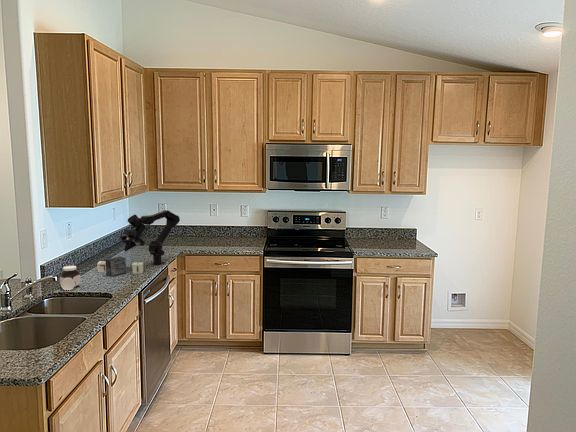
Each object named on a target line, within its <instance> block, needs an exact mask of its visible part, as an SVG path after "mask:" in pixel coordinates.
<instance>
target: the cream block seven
mask: <svg viewBox="0 0 576 432" xmlns="http://www.w3.org/2000/svg"><path fill="white" fill-rule="evenodd" d="M96 267H97V273H106V262H105V260H102V261H101V260H100V261H98V262H97V266H96Z"/></svg>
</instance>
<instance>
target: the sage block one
mask: <svg viewBox="0 0 576 432" xmlns="http://www.w3.org/2000/svg"><path fill="white" fill-rule="evenodd" d="M131 265H132V275H133V274H134V275H135V274H136V275H137V274H143V273H144V261H140V262H139V261H137V262H135V261H134V262H132V264H131Z"/></svg>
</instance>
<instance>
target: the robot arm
mask: <svg viewBox="0 0 576 432" xmlns="http://www.w3.org/2000/svg"><path fill="white" fill-rule="evenodd" d="M163 218H165V219H166V223H165V226H164V227H163V229H162V230H161V232H160V233H159V235H158V236H157V238H156V240H152V241H150V243H149V245H148V252H149V254H150V256H151V255H152V263H151V264H152V265H163V260H162V259H163V258H162V256H164V255H165V251H164V250H163V243H164V242H165V240H166V239H167V237H168V235H169V234H170V232H171V231H172V229H173V228H174V227H176V226H177V225H178V224H179V223H180V221H181V220H180V216H179V215H177V214H176V213H173V212H172V211H171V210H166V209H165V210H161V211H159V212H156V213H153V214H150V215H147V214H146V215H142V216H141V217H138V215H137V214H133V215H130V216H129V217H128V218H127V223H128V224H129V225H130V226H131V227H133V228H134V229H133V228H131V229H128V228H127V229H125V228H124V229H123V230H124V231H123V235H120V236H119V239H120V240H121V241H122V242H123V243H124V244H125V246H124V250H123V251H124V252H128V251H129V250H131V249H134V248H135V247H137V246H138V244H139V246H141V247H144V246H145V243H146V242H145V241H144V239H143V233H144V232H145V231H147V232H148V231H149V228H148V226H150V225H152V224H154V222H156V221H158V220H161V219H163Z"/></svg>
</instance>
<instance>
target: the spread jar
mask: <svg viewBox="0 0 576 432" xmlns="http://www.w3.org/2000/svg"><path fill="white" fill-rule="evenodd" d="M81 281H82V280H81V273H80V271H79V270H78V269H77V266H76V265H66V266H63V267H62V271H61V273H60V275H59V283H60V284H59V285H60V286H61V288H62V289H63V290H64V291H66V290H67V292H68V290H69V291H73V289H76V288H78V287H79V286H80V285H81ZM75 287H76V288H75Z"/></svg>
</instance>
